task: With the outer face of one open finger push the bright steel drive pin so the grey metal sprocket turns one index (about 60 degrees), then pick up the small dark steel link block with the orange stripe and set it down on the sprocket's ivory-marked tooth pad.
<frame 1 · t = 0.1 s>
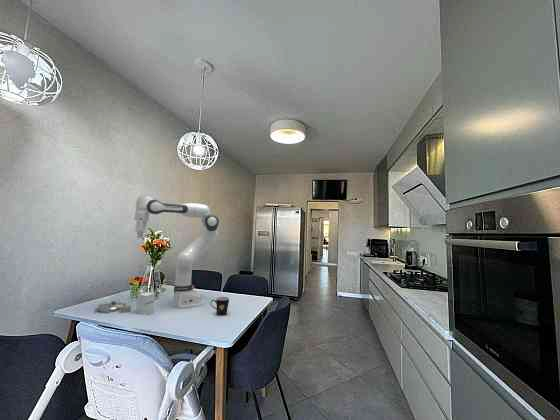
hand: (139, 237, 165), 48 cm above the table, fingers open, 8 cm apart
coffee mug: (219, 313, 158), on the table
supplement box: (144, 314, 152), on the table
link block: (125, 313, 150), on the table
sprocket: (111, 305, 154), point 4 cm above the table, hinge at 0.0°
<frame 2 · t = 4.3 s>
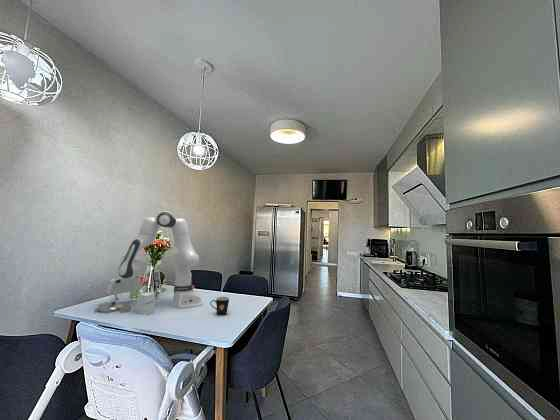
hand: (123, 298, 165), 5 cm above the table, fingers open, 7 cm apart
sprocket: (111, 305, 154), point 4 cm above the table, hinge at 0.1°, touching gripper
everything else where it was.
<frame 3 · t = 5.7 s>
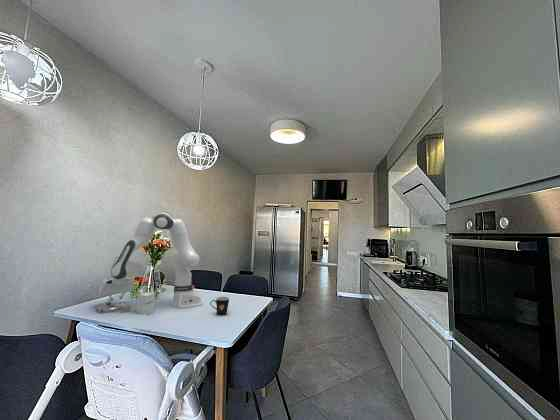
hand: (116, 299, 162), 5 cm above the table, fingers open, 4 cm apart
sprocket: (111, 305, 154), point 4 cm above the table, hinge at 27.8°, touching gripper
everything else where it was.
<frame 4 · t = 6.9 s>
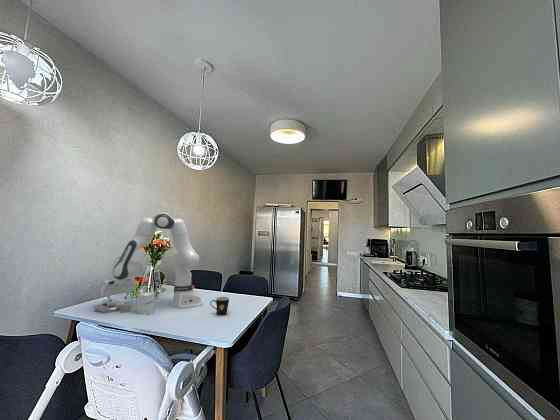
hand: (117, 300, 162), 4 cm above the table, fingers open, 8 cm apart
sprocket: (111, 305, 154), point 4 cm above the table, hinge at 48.1°
everything else where it was.
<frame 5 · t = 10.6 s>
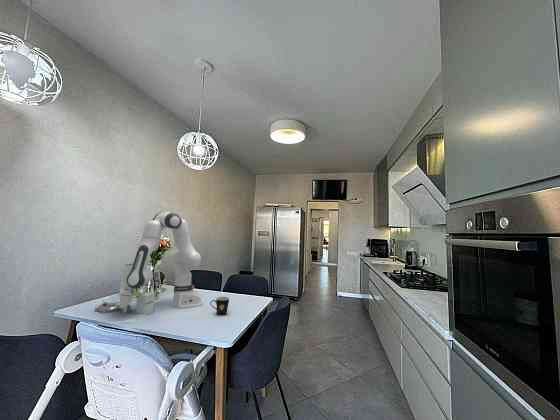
hand: (126, 311, 150), 2 cm above the table, fingers closed on link block, 3 cm apart
link block: (125, 313, 150), on the table, touching gripper
everything else where it was.
when the fingers open (6 cm above the table, at t = 14.6 s): link block stays where it is, resting on sprocket.
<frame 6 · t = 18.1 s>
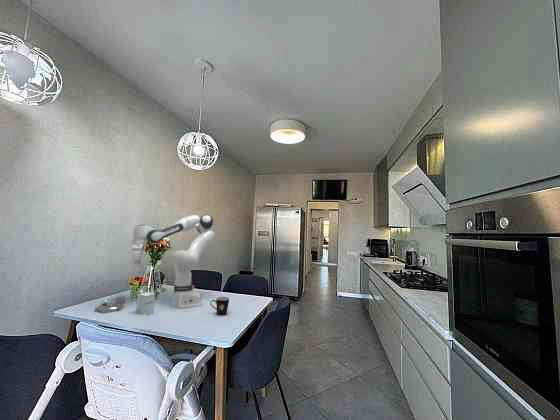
hand: (137, 265, 172), 27 cm above the table, fingers open, 8 cm apart
link block: (120, 303, 158), point 4 cm above the table, touching sprocket
sprocket: (111, 305, 154), point 4 cm above the table, hinge at 48.1°, touching link block
everything else where it was.
at the end: sprocket at +48° (first picture: +0°); link block inside the target area on the sprocket (0.3 cm from its centre), point 2.4 cm above the sprocket's base; link block tilted 0° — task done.
